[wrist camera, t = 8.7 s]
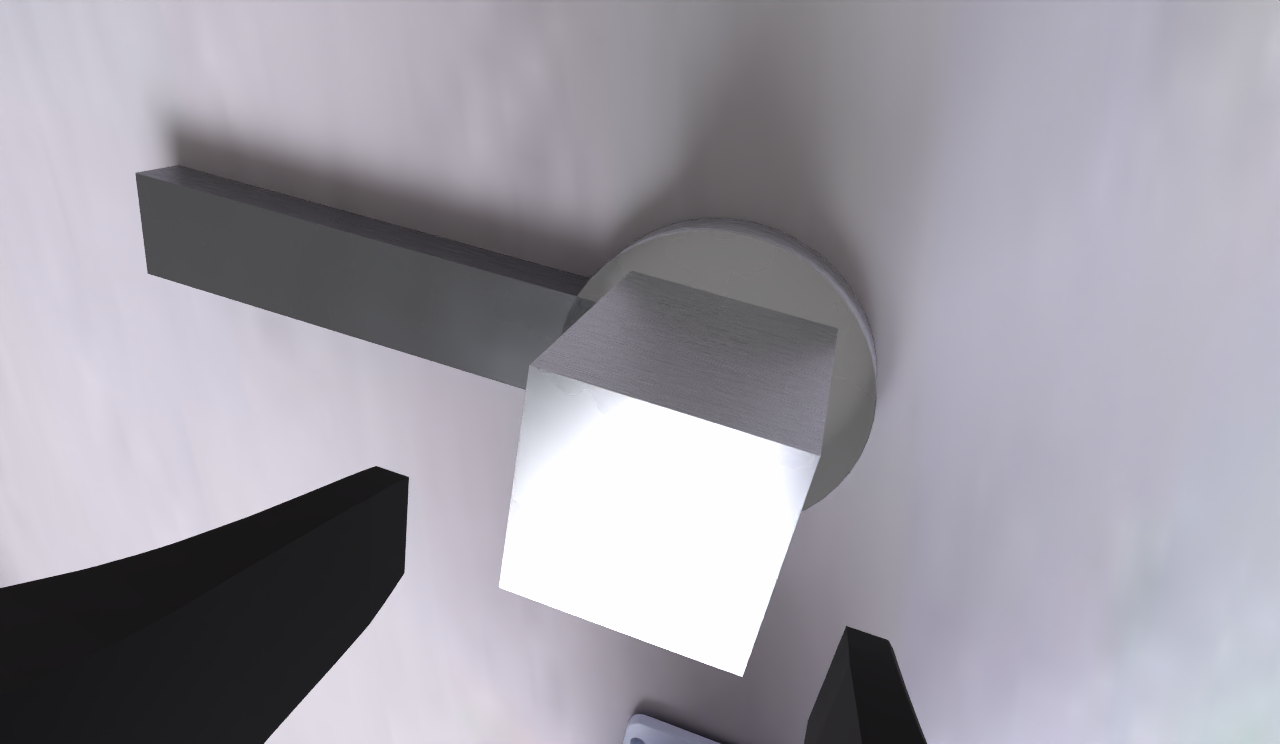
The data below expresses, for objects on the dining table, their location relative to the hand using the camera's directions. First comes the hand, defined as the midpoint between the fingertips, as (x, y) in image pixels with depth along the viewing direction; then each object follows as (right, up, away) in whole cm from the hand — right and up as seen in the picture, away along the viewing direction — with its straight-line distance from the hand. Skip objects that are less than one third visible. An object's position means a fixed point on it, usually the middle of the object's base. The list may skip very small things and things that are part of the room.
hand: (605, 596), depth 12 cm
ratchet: (-3, +5, +9) cm, 11 cm away
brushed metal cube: (+2, +3, +7) cm, 8 cm away
